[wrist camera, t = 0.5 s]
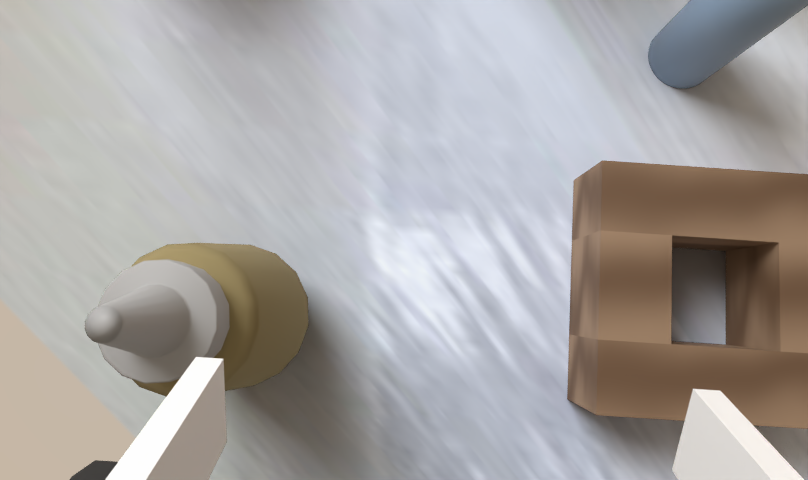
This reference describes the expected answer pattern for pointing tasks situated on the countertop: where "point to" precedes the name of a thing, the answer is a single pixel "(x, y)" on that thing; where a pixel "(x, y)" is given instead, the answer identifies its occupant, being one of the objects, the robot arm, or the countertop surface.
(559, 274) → the countertop surface
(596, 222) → the socket block
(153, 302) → the squeeze bottle
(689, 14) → the peg
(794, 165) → the countertop surface
